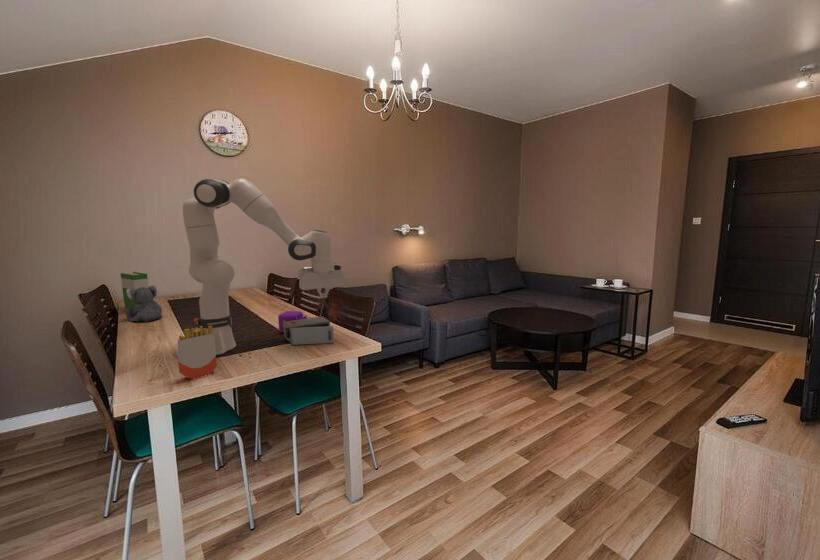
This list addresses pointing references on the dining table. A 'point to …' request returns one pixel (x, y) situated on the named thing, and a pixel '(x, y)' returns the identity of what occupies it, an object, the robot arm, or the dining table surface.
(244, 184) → the robot arm
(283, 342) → the dining table surface
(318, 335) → the side door
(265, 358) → the dining table surface
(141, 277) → the green and white box
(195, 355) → the french fries container
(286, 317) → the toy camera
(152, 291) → the koala plush
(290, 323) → the camera housing
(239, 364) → the dining table surface
